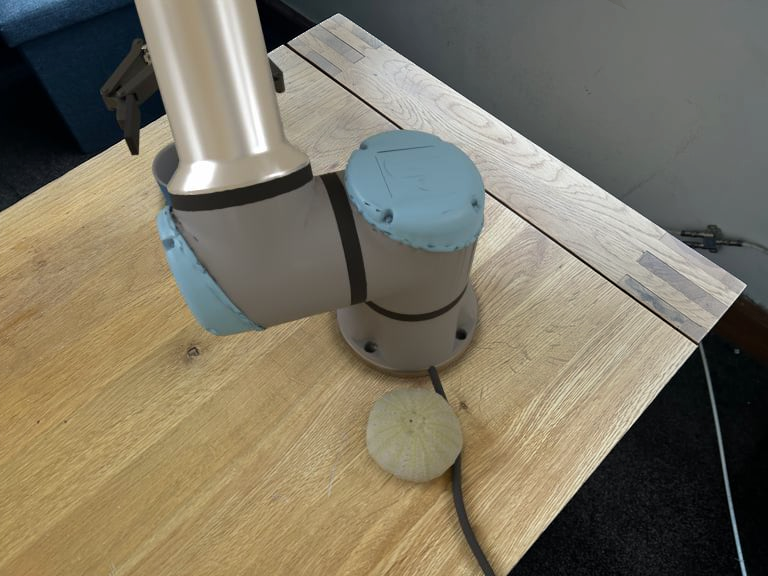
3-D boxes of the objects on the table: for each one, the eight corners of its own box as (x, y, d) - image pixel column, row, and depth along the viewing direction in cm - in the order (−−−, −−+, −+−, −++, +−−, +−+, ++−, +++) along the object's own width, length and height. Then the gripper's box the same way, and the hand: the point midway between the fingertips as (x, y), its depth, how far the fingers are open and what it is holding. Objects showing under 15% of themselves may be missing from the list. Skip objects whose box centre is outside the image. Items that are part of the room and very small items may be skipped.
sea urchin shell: (420, 509, 59) (378, 443, 57) (378, 481, 66) (339, 421, 64) (489, 442, 63) (452, 377, 60) (442, 422, 70) (407, 363, 67)
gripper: (296, 33, 87) (314, 151, 75) (100, 52, 84) (89, 176, 73) (290, -20, 80) (308, 100, 69) (78, -1, 78) (62, 125, 67)
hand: (196, 139), depth 71 cm, fingers open, 13 cm apart
